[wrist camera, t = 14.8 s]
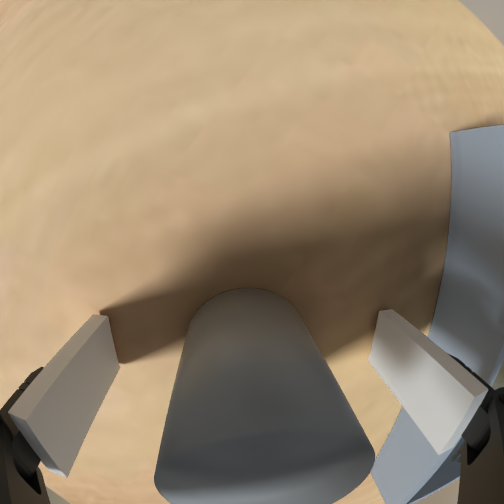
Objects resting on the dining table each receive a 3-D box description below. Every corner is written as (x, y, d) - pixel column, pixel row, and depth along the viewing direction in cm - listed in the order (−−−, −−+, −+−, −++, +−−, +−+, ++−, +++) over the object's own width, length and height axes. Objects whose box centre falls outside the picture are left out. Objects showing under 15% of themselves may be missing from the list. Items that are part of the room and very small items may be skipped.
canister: (182, 288, 10) (125, 426, 4) (310, 286, 11) (405, 405, 4) (192, 387, 11) (176, 520, 5) (299, 384, 12) (344, 508, 5)
